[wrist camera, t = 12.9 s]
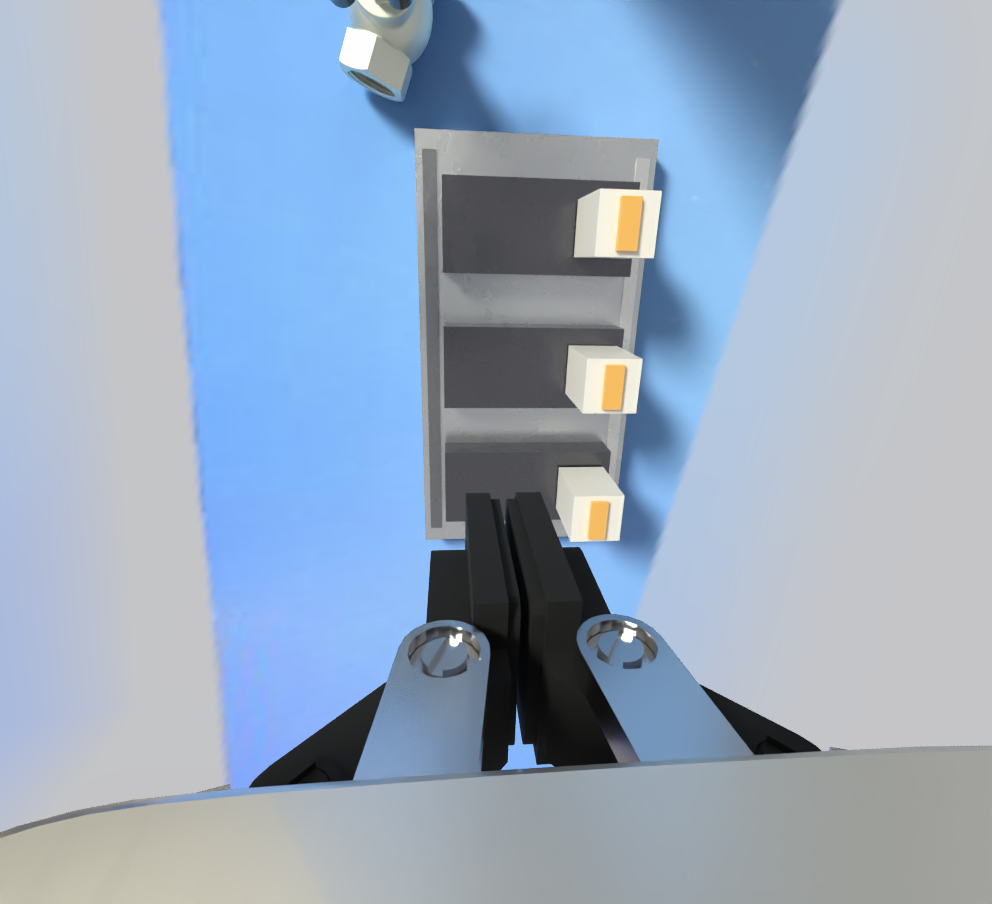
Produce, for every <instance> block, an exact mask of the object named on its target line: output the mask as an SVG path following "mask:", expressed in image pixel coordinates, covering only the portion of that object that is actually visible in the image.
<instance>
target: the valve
mask: <svg viewBox="0 0 992 904" xmlns="http://www.w3.org/2000/svg"><path fill="white" fill-rule="evenodd" d="M331 1H332V2H333V3H334V4H335V5H336V6H338V7H341V8H347V7H349V15H350V23H351V27H352V28H349V27H347V31H346V35H345V39H344V43H343V46H342V50H341V54H340V58H339V63H340V66H341V69H342V71H343V72H344V73H345V74H346V75H347V76H348V77H349V78H351V79H352V80H353V81H355V82H356V83H358V84H359V85H361V86H362V87H364V88H366V89H367V90H369V91H371V92H373V93H375V94H377V95H379V96H381V97H384V98H386V99H389V100H392V101H397V102H402V101H404V99H405V96H406V93H407V89H408V86H409V83H410V80H411V76H412V73H413V71H412V65H411V64H413V63H414V62H415V61H416V60H417V59H418V58H419V57H420V56H421V54H422V53H423V51H424V50H425V48H426V46H427V44H428V41H429V38H430V35H431V30H432V22H433V9H432V4H433V3H434V0H331Z"/></svg>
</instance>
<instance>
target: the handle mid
mask: <svg viewBox="0 0 992 904" xmlns="http://www.w3.org/2000/svg"><path fill="white" fill-rule="evenodd" d="M642 361H643V359H642V358H640V357H638V356H636V355H634V354H632V353H630V352H628V351H626V350H624V349H622V348H620V347H618V346H577V345H569V349H568V362H567V376H566V390H565V394H566V395H567V396H568V397H569V398H570V400H571V401H572V402H573V403H574V404H575V405H576V407H577V408H578V409H579V410H580V411H581V412H582V413H583V414H593V413H636V410H637V402H638V393H639V385H640V377H641V369H642Z"/></svg>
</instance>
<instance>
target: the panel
mask: <svg viewBox="0 0 992 904" xmlns="http://www.w3.org/2000/svg"><path fill="white" fill-rule="evenodd" d="M414 135H415V171H416V206H417V242H418V278H419V314H420V349H421V385H422V421H423V457H424V493H425V528H426V540H428V539H465V495H466V493H490V496H491V499H500V504H501V509H502V514H503V518H504V523H505V511H506V499H515V493H516V492H540V493H541V495H542V498H543V500H544V503H545V505H546V508H547V510H548V513H549V515H550V518H551V520H552V523H553V526H554V528H555V531H556V533H557V536H558V537H564V536H568V535H567V533H566V530H565V528H564V526H563V523H562V521H561V519H560V516H559V514H558V512H557V509H556V500H557V486H558V472H559V467H604V469H605V470H606V471H607V473H608V474H609V475H610V477H611V478H612V479H613V481H614V482H615V483H616V485H617V486H618V484H619V476H620V467H621V459H622V450H623V442H624V433H625V425H626V416H627V413H593V414H583V413H582V412H581V411H580V410H579V409H578V408H577V407H576V405H575V404H574V403H573V402H572V401H571V400H570V398H569V397H568V396H567V395H566V394H565V390H566V376H567V362H568V349H569V345H577V346H618V347H620V348H622V349H624V350H626V351H628V352H630V353H632V354H634V348H635V339H636V331H637V322H638V313H639V305H640V296H641V288H642V279H643V271H644V262H645V258H638V259H616V258H578V257H574V249H575V235H576V221H577V207H578V199H580V198H582V197H584V196H586V195H588V194H590V193H592V192H594V191H596V190H598V189H600V188H602V189H628V190H653V185H654V177H655V168H656V160H657V151H658V142H659V140H655V139H634V138H613V137H592V136H571V135H550V134H529V133H508V132H486V131H465V130H444V129H423V128H414Z"/></svg>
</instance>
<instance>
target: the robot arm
mask: <svg viewBox="0 0 992 904" xmlns="http://www.w3.org/2000/svg"><path fill="white" fill-rule="evenodd" d="M516 704H517V710H518V717H519V723H520V730H521V737H522V742H523V744H533V746H534V752H535V757H536V763H537V765H541V764H552V765H553V766H555V767H546V768H530V769H514V770H501V769H502V768H503V767H504V765H505V764H506V763H507V762H508V745H514V743H515V724H516ZM0 904H992V746H938V747H937V746H932V747H901V748H883V749H861V750H846V749H840V748H833V747H830V749H829V751H821V750H820V749H819V748H818V747H817V746H816V745H814V744H812V743H811V742H809V741H808V740H806V739H804V738H803V737H801V736H800V735H798V734H796V733H794V732H792V731H790V730H788V729H786V728H784V727H782V726H780V725H778V724H776V723H774V722H773V721H770V720H768V719H767V718H765V717H762V716H760V715H759V714H757V713H755V712H753V711H751V710H749V709H747V708H745V707H743V706H741V705H739V704H737V703H735V702H733V701H731V700H729V699H728V698H726V697H724V696H722V695H720V694H718V693H716V692H714V691H712V690H710V689H708V688H706V687H704V686H702V685H700V684H698V682H697V681H696V680H695V679H694V677H693V676H692V675H691V673H690V672H689V671H688V670H687V669H686V667H685V666H684V665H683V663H682V662H681V661H680V659H679V658H678V657H677V656H676V654H675V653H674V652H673V650H672V649H671V648H670V647H669V645H668V644H667V643H666V642H665V640H664V639H663V638H662V637H661V635H659V634H658V633H657V632H656V631H655V630H654V629H653V628H652V627H650V626H649V625H647V624H645V623H644V622H642V621H640V620H637V619H634V618H632V617H629V616H623V615H617V614H611V613H610V611H609V609H608V607H607V605H606V602H605V600H604V598H603V596H602V594H601V591H600V589H599V587H598V585H597V583H596V580H595V578H594V576H593V574H592V572H591V569H590V567H589V565H588V563H587V561H586V559H585V556H584V554H583V552H582V550H581V549H580V548H579V547H563V548H562V546H561V543H560V541H559V538H558V536H557V533H556V531H555V528H554V526H553V523H552V520H551V518H550V515H549V513H548V510H547V508H546V505H545V503H544V500H543V498H542V495H541V493H540V492H516V493H515V499H506V511H505V523H504V518H503V514H502V509H501V504H500V499H491V496H490V493H466V495H465V550H438V551H431V561H430V576H429V591H428V606H427V621H426V624H423V625H421V626H419V627H418V628H416V629H414V630H412V631H411V632H410V633H409V634H408V635H407V636H406V637H404V639H403V641H402V643H401V644H400V646H399V648H398V651H397V654H396V657H395V660H394V663H393V666H392V669H391V672H390V674H389V677H388V680H387V682H385V683H384V684H383V685H381V686H380V687H379V688H377V689H376V690H374V691H373V692H372V693H370V694H369V695H367V696H366V697H365V698H363V699H362V700H361V701H359V702H358V703H356V704H355V705H354V706H352V707H351V708H349V709H348V710H347V711H345V712H344V713H342V714H341V715H340V716H338V717H337V718H336V719H334V720H333V721H331V722H330V723H329V724H327V725H326V726H324V727H323V728H322V729H320V730H319V731H318V732H316V733H315V734H313V735H312V736H311V737H309V738H308V739H306V740H305V741H304V742H302V743H301V744H299V745H298V746H297V747H295V748H294V749H293V750H291V751H290V752H288V753H287V754H286V755H284V756H283V757H281V758H280V759H279V760H277V761H276V762H275V763H273V764H272V765H270V766H269V767H268V768H267V769H266V770H265V771H264V772H262V773H261V774H260V775H259V776H258V777H257V778H256V779H255V780H254V781H253V782H252V784H251V785H250V787H249V788H242V789H231V787H230V784H228V785H224V786H220V787H216V788H213V789H209V790H205V791H202V792H197V793H192V794H183V795H174V796H164V797H155V798H146V799H137V800H129V801H124V802H119V803H113V804H108V805H103V806H97V807H92V808H86V809H81V810H76V811H72V812H68V813H65V814H61V815H57V816H54V817H50V818H46V819H42V820H39V821H35V822H31V823H28V824H24V825H20V826H16V827H14V828H11V829H8V830H6V831H3V832H0Z"/></svg>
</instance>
